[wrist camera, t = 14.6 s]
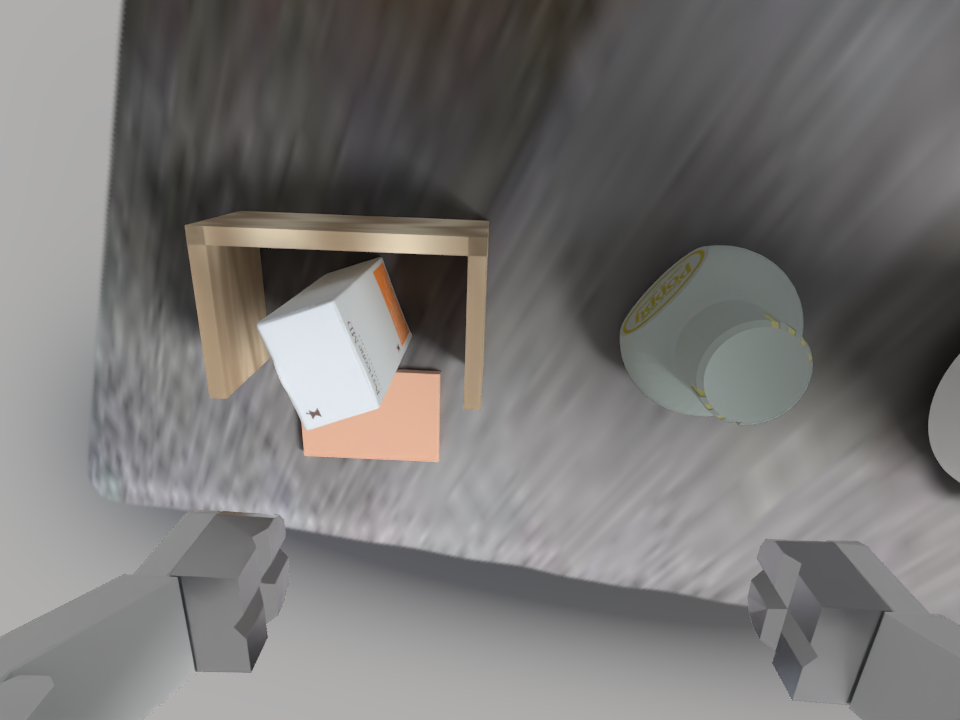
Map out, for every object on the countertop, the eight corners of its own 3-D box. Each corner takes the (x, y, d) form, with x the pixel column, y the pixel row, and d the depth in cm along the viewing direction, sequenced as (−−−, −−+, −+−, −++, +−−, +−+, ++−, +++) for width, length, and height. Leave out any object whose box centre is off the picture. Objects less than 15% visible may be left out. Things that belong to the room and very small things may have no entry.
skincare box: (415, 335, 39) (382, 412, 28) (358, 353, 40) (303, 435, 29) (382, 251, 37) (333, 298, 26) (323, 271, 38) (249, 325, 27)
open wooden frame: (489, 220, 36) (487, 237, 30) (483, 366, 40) (480, 410, 33) (240, 210, 36) (184, 225, 30) (256, 356, 40) (209, 398, 33)
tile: (440, 371, 40) (439, 374, 39) (439, 457, 43) (438, 462, 42) (299, 364, 40) (296, 368, 40) (306, 451, 43) (304, 455, 42)
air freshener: (712, 215, 36) (788, 241, 26) (798, 298, 38) (898, 349, 28) (592, 340, 39) (622, 402, 30) (676, 411, 41) (729, 491, 31)
